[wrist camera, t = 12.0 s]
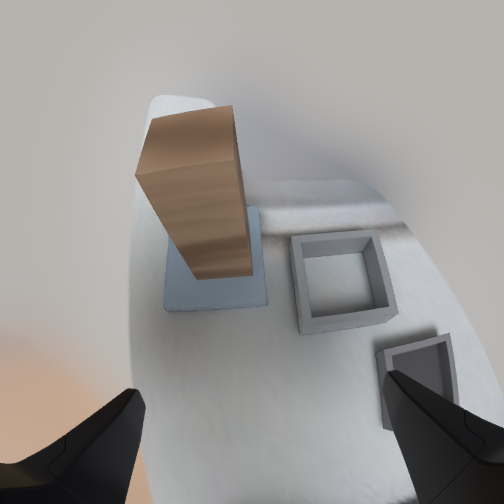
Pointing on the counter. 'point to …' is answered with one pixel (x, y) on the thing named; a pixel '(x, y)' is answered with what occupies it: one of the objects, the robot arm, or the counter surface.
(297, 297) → the sleeve
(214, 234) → the walnut block
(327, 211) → the counter surface
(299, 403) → the counter surface
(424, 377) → the tray
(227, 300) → the pad
